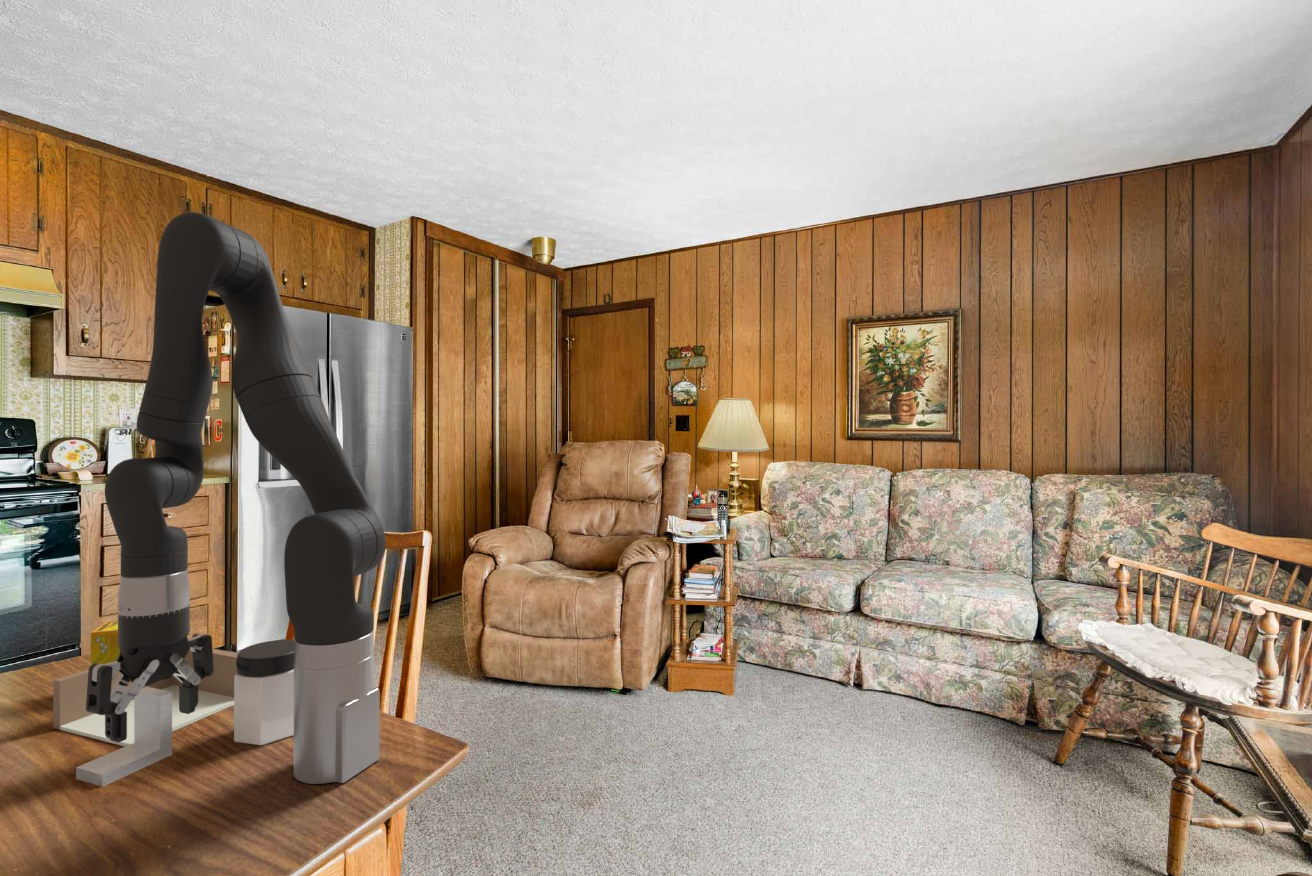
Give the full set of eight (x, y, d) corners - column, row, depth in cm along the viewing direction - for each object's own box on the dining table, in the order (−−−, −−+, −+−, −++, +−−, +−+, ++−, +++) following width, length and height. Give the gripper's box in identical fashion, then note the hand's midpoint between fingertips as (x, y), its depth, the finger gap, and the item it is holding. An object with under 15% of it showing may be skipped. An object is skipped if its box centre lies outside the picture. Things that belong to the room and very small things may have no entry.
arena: (249, 698, 101) (250, 655, 101) (132, 748, 85) (132, 697, 85) (176, 683, 106) (176, 642, 106) (53, 728, 90) (53, 680, 90)
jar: (248, 720, 93) (248, 641, 93) (309, 714, 95) (309, 636, 95) (226, 750, 84) (226, 662, 84) (293, 742, 87) (294, 656, 87)
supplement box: (103, 686, 105) (103, 621, 105) (148, 680, 107) (148, 617, 107) (89, 700, 99) (89, 632, 99) (136, 693, 102) (136, 627, 102)
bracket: (146, 748, 85) (146, 686, 85) (172, 755, 83) (172, 692, 83) (76, 779, 77) (76, 711, 77) (102, 787, 76) (102, 718, 76)
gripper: (112, 624, 75) (112, 757, 76) (226, 595, 89) (226, 708, 89) (72, 617, 78) (72, 746, 78) (189, 590, 91) (189, 700, 92)
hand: (154, 725), depth 84 cm, fingers open, 8 cm apart
